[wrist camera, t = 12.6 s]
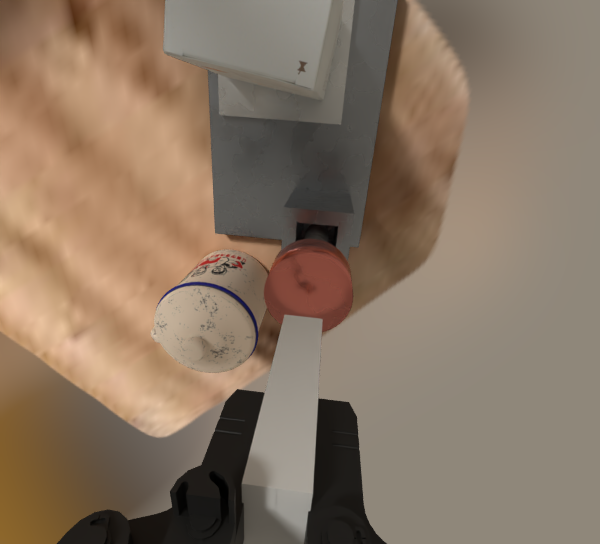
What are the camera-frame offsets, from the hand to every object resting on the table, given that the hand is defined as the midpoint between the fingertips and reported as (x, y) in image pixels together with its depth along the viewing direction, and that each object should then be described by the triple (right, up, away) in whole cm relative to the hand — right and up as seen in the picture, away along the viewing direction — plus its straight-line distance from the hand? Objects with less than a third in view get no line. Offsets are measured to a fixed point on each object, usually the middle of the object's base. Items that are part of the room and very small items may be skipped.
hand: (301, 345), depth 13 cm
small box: (-1, +20, +11) cm, 23 cm away
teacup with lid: (-9, +1, +23) cm, 25 cm away
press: (-1, +16, +15) cm, 22 cm away
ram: (+1, +6, +13) cm, 14 cm away
